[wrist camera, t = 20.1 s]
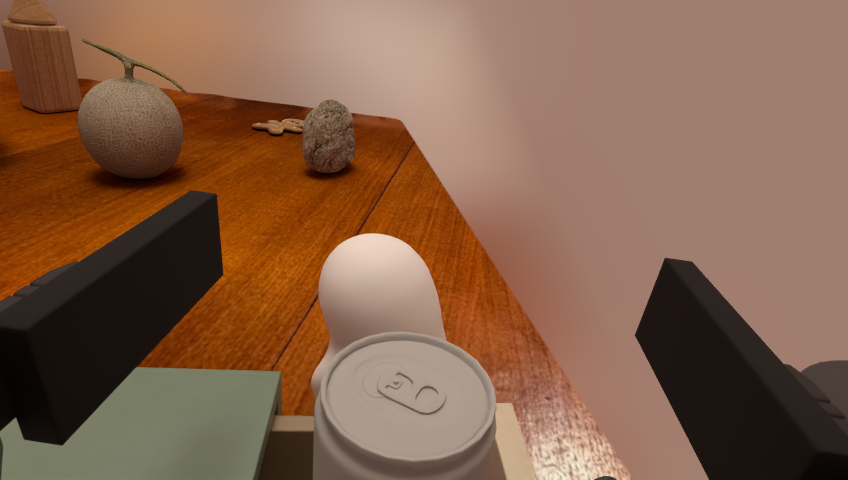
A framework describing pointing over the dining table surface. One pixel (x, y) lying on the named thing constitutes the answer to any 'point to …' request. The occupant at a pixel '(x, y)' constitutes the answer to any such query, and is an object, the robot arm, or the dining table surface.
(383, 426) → the beverage can
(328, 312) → the figurine
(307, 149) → the stone
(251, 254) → the dining table surface
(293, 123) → the cookie
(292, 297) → the dining table surface
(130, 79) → the fruit
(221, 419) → the cabinet
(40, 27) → the decorative item
